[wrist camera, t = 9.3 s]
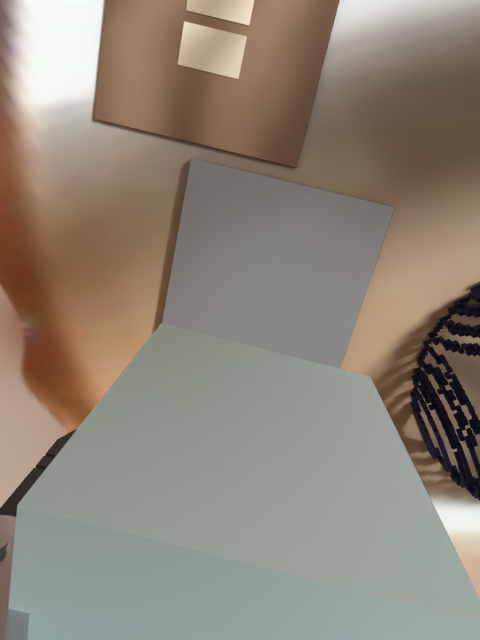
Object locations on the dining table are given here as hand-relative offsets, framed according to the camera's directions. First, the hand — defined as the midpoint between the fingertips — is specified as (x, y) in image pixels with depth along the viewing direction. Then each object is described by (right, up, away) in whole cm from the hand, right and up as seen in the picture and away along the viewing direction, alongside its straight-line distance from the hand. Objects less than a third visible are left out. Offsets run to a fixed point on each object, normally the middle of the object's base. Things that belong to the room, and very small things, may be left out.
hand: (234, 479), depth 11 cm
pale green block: (0, +1, +2) cm, 2 cm away
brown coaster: (-1, +23, +16) cm, 27 cm away
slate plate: (+2, +6, +21) cm, 22 cm away
